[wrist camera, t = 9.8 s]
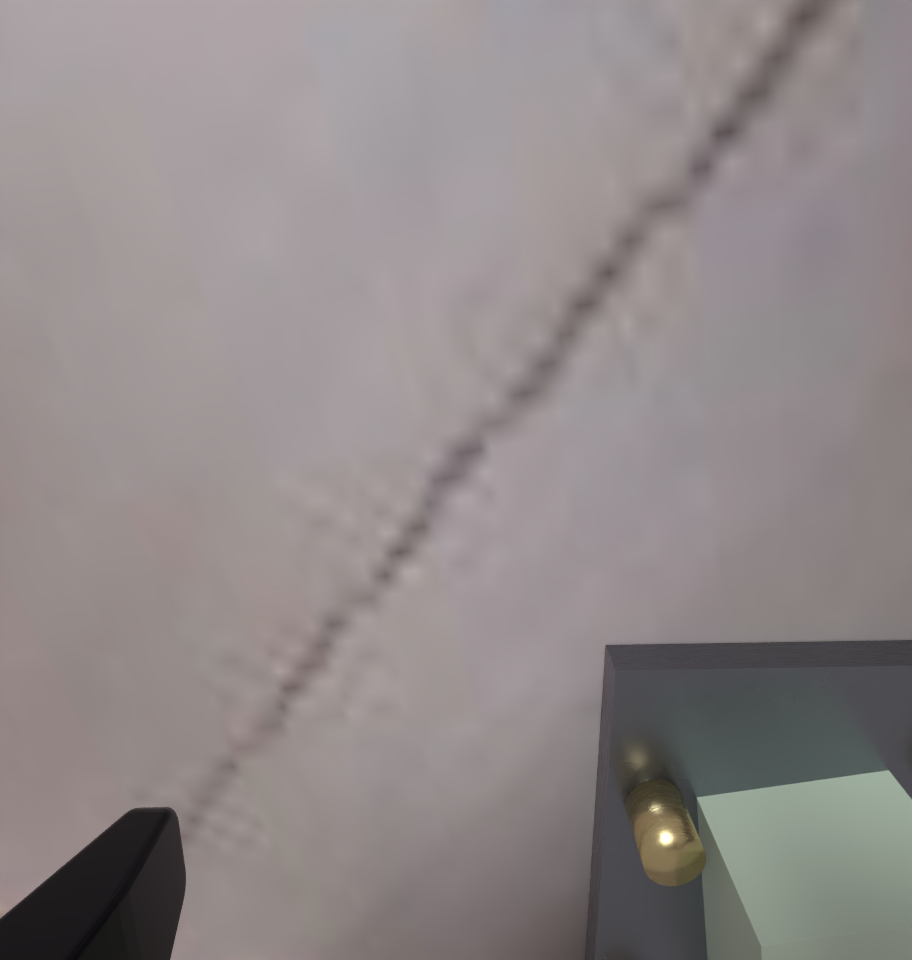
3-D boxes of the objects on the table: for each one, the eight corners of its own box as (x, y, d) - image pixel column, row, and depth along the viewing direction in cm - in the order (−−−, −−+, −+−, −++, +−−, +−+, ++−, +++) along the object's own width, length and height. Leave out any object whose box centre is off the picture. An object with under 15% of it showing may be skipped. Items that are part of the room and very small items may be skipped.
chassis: (1024, 638, 22) (1120, 711, 19) (914, 1071, 27) (974, 1182, 24) (605, 645, 21) (634, 720, 18) (577, 1081, 27) (595, 1194, 24)
